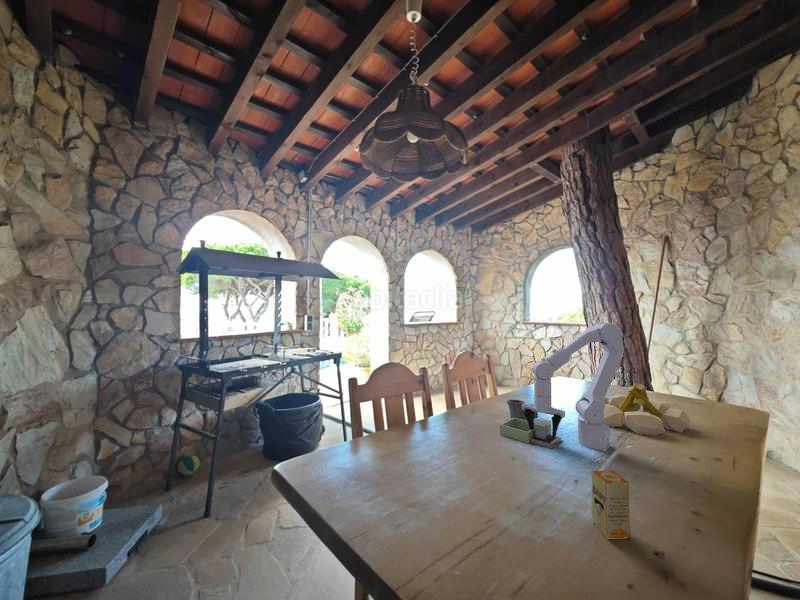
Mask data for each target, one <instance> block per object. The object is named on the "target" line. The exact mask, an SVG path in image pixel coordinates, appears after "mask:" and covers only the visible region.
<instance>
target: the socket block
mask: <svg viewBox="0 0 800 600" xmlns="http://www.w3.org/2000/svg"><path fill="white" fill-rule="evenodd" d="M529 443H530V444H534V445H536V446H539V447H541V448H546V449H550V450H554V449H555V448H556V447H558V446H559V445H560V444H561V443H563V440H562V437H561V436H557V435H556V436H555V437H553V436H552V434H551V441H550V442H548V443H547V442H544V441H540V440H537V439H533V438H530V442H529ZM529 443H528V444H529Z"/></svg>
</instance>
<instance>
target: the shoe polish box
mask: <svg viewBox="0 0 800 600" xmlns="http://www.w3.org/2000/svg"><path fill="white" fill-rule="evenodd" d="M629 483H630V482H629V481H628V480H626V479H625V478H623V476H621V475H620V474H618V473H617V472H616V471H614V470H591V499H592V500H591V501H592V506H591V507H592V508H591V511H592V513H591V514H592V524H593V523H594V525H595V526H596V527H597V528H598V529H599V530H600V531H601V533H602V534H603V535H604V536H605V537H606V538H625V537H630V538H631V535H630V534H631V529H630V527H631V526H630V524H631V523H630V484H629ZM594 525H593V526H594ZM595 526H594V527H595ZM601 533H600V534H601ZM602 534H601V535H602ZM603 535H602V536H603ZM604 536H603V537H604ZM605 537H604V538H605ZM606 538H605V539H606Z"/></svg>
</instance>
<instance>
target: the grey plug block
mask: <svg viewBox="0 0 800 600" xmlns="http://www.w3.org/2000/svg"><path fill="white" fill-rule="evenodd" d="M534 423H535V439H537V440H540V441H544V442H547V443H548V442H550V441H551V435H552V420H550V419H546V418H539V419H537V420H536V421H535V422H534Z"/></svg>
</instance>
